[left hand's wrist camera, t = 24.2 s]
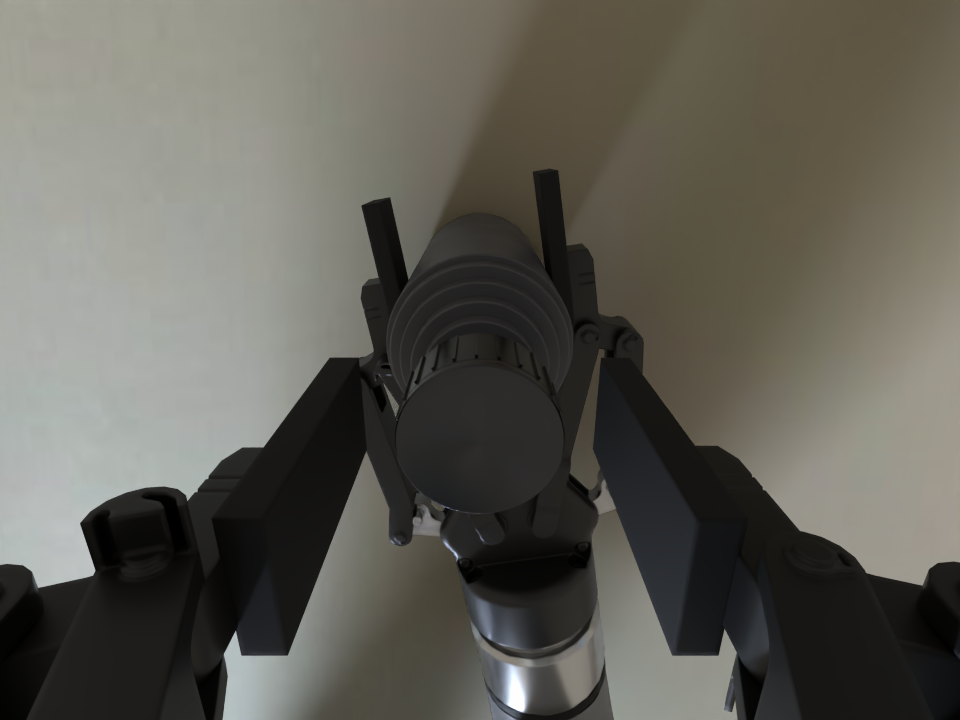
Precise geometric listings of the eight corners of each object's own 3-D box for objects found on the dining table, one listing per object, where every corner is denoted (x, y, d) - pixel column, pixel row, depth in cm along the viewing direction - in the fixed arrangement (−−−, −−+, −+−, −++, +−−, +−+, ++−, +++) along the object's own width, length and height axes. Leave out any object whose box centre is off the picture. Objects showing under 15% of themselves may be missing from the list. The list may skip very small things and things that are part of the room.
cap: (470, 490, 15) (469, 543, 13) (374, 392, 14) (355, 433, 12) (584, 410, 15) (601, 453, 12) (490, 299, 13) (492, 326, 11)
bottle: (483, 348, 32) (486, 574, 15) (399, 275, 30) (293, 434, 13) (561, 269, 30) (667, 420, 13) (476, 187, 29) (470, 237, 11)
